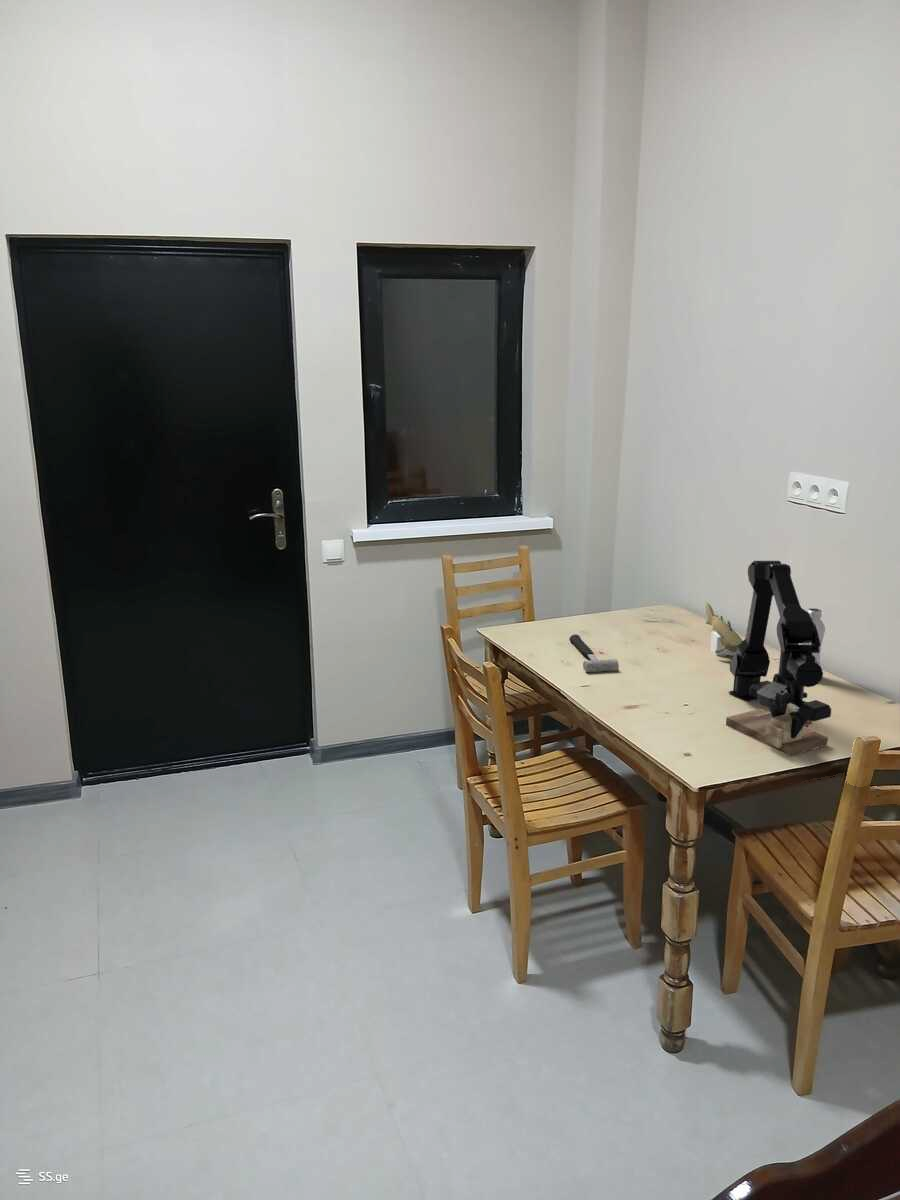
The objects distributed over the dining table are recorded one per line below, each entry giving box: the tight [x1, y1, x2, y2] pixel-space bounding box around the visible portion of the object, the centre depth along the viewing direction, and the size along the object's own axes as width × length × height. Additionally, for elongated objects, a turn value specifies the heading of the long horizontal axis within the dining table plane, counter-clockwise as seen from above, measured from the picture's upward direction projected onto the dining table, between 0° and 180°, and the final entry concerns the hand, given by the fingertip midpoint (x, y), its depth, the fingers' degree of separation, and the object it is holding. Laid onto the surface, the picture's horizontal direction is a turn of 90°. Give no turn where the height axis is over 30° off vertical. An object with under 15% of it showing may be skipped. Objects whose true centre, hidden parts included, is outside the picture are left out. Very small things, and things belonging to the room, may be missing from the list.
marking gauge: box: [765, 712, 813, 748], centre depth 194 cm, size 4×12×6 cm, turn 117°
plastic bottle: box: [800, 607, 826, 668], centre depth 236 cm, size 6×7×20 cm
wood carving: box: [705, 601, 744, 657], centre depth 261 cm, size 9×35×11 cm, turn 179°
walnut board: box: [725, 708, 829, 757], centre depth 201 cm, size 20×12×2 cm, turn 27°
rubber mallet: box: [569, 634, 620, 673], centre depth 258 cm, size 10×4×30 cm
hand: (785, 734), depth 194 cm, fingers closed on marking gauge, 4 cm apart
